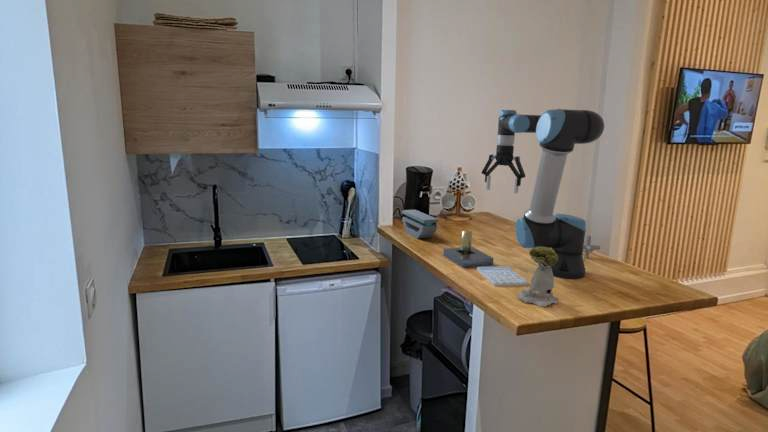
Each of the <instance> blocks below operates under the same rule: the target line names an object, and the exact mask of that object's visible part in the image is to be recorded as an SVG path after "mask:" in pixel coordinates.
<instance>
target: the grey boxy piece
mask: <svg viewBox="0 0 768 432" xmlns="http://www.w3.org/2000/svg"><path fill="white" fill-rule="evenodd" d="M401 214H403V215H404V216H402V224H403V227H404V229H405V233H406V234H407V235H409V236H410V237H413V238H415V239H416V240H418V239H431V238H432V237H433V235H434V234H435V233H436V231H437V230H438V225H437V224H435V223H439V219H438V218H436V217H434V216H432V215H429V214H426V213H424V212H421V210H417V209H404V210H403V209H402V210H401Z"/></svg>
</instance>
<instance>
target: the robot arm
mask: <svg viewBox="0 0 768 432" xmlns="http://www.w3.org/2000/svg"><path fill="white" fill-rule="evenodd" d="M604 130H605V122H604V119H603V117H602V116H601V115H600V114H599V113H597V112H595V111H593V110H585V109H561V108H557V109H547V110H545V111H544V112H543V113H542V114H540V115H539V114H536V115H535V114H520V113H517V110H515V109H501V110H500V111H499V114H498V125H497V138H496V144H497V145H496V150H495V151H496V153H495V154H489V155H488V160H487V162H486V164H485V165H484V167H483V168H482V171H481V174H482V175H483V176H484V183H485V186H486V187H485V191H489V190H491V179H492V175H490V174H492V172H493V171H494V170H496V168H497V167H498V166H503V167H504V166H505V167H506V166H508V167H509V168H510V170H511V171H512V173H513V175H514V176H515V177H516V178H515V179H514V190H513V194H518V192H519V187H521V182H522V179H523V178H526V177H527V176H526V174H525V171H524V168H523V166H522V163H521V157H520V156H514V148H515V147H514V145H515V138H516V136H515V135H516V134H521V133H529V134H530V133H531V134H532V133H535V139H536V140H537V142H538V144H539V147H540V148H541V150H542V151H541V155H540V160H539V163H538V170H537V174H536V177H535V183H534V187H533V188H534V189H533V191H532V196H531V201H530V205H529V208H528V209H526V210H525V211H524V213H523V217H520V218H517V220H516V222H515V236H516V239H517V242H518V243H519V246H521V247H522V248H524V249H532V248H533V247H534V248H535V247H548V248H551V249H553V250H554V251H555V252H556V254H557V256H558V261H557V262H556V263H555V265H554V266H551V269H552V273H553V277H556V278H561V279H563V278H564V279H570V280H571V279H573V280H574V279H582V278H585V276H586V268H585V263H584V262H585V261H584V258H583V257H584V256H583V254H584V249H583V247H584V242H585V239H586V238H585V236H586V231H587V222H586V220H584V218H581V217H579V216H574V215H570V214H566V213H565V214H564V213H555V214H554V210H555V206H556V203H557V199H558V198H557V197H558V194H559V190H560V186H561V182H562V177H563V174H564V169H565V165H566V162H567V157H568V155H569V154H571V153H572V152H573V151H574V149H575V144H576V145H579V144H580V145H584V144H590V143H594V142H595V141H597V140H598V139H600V138H601V136H602V134H603V132H604ZM493 160H496V161H495V162H494V163H493ZM513 161H514V162H515V165H516V166H515V165H514V163H513ZM492 163H493V165H491V164H492ZM490 166H491V167H490ZM516 167H517V168H516Z"/></svg>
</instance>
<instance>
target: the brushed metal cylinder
mask: <svg viewBox="0 0 768 432" xmlns="http://www.w3.org/2000/svg"><path fill="white" fill-rule="evenodd" d="M472 240H473V230H464V229H463V230H461V239H460V247H461V252H460V253H461V254H471V247H472V243H473V241H472Z"/></svg>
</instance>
